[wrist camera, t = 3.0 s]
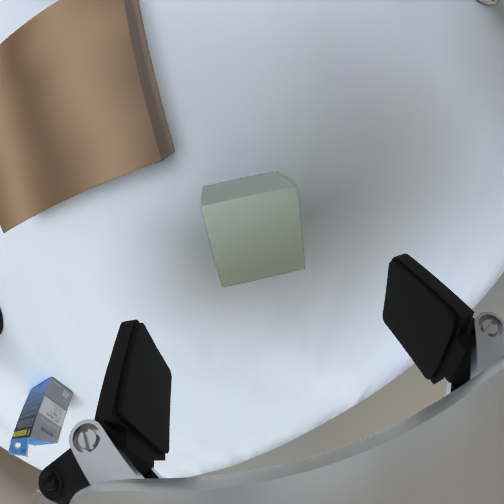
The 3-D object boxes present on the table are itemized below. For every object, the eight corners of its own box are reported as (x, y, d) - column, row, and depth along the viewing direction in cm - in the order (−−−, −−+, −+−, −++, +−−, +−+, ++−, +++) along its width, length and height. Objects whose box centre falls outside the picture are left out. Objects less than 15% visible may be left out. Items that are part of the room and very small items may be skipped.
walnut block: (139, 0, 11) (119, -30, 6) (175, 150, 16) (161, 161, 12) (7, 76, 10) (-32, 75, 6) (39, 207, 16) (3, 233, 12)
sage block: (277, 170, 18) (296, 186, 14) (286, 237, 20) (305, 268, 16) (202, 186, 17) (200, 206, 13) (219, 252, 20) (222, 287, 16)
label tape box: (49, 403, 27) (31, 468, 16) (28, 387, 25) (6, 453, 14) (74, 392, 26) (54, 472, 15) (50, 374, 24) (23, 454, 13)
